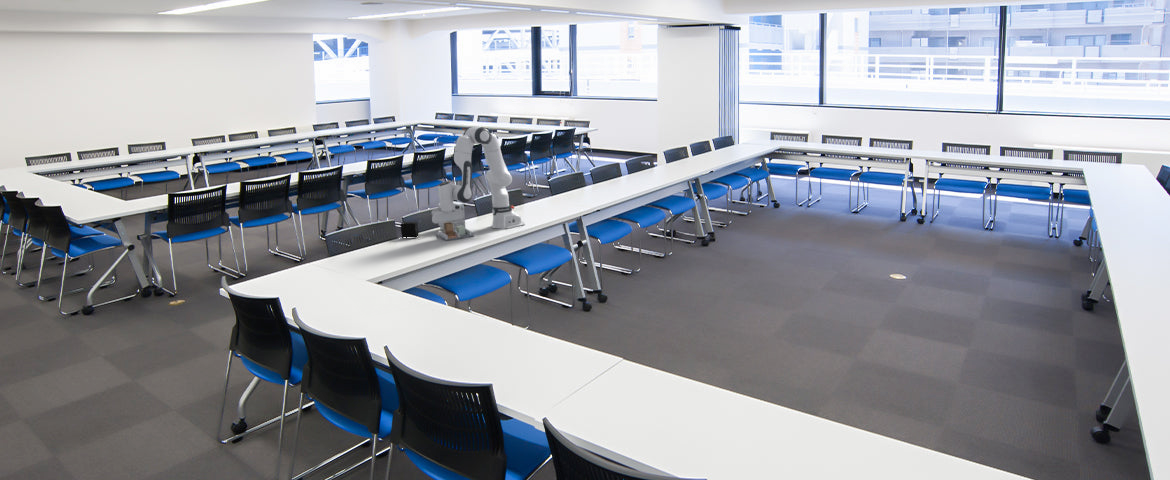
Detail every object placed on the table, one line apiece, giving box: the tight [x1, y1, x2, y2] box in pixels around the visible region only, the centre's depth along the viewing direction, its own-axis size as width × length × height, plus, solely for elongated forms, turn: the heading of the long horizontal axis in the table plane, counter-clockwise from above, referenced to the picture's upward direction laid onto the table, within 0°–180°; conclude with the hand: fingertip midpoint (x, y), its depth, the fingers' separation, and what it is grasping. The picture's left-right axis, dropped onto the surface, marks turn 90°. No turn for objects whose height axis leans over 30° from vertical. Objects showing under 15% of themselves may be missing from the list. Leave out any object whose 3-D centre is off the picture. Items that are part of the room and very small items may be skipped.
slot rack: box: [436, 225, 474, 242], centre depth 493 cm, size 19×18×6 cm
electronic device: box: [400, 221, 420, 239], centre depth 494 cm, size 4×10×10 cm, turn 78°
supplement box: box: [437, 200, 467, 231], centre depth 512 cm, size 13×13×18 cm
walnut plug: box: [443, 222, 454, 237], centre depth 490 cm, size 6×4×8 cm, turn 29°
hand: (448, 228), depth 490 cm, fingers open, 8 cm apart
